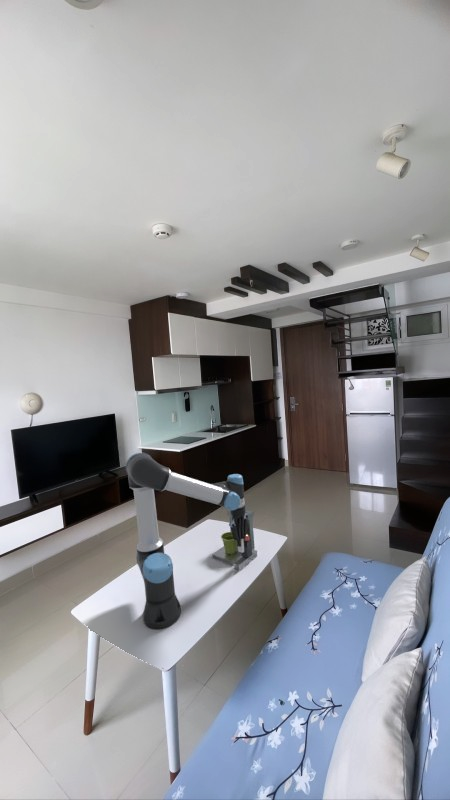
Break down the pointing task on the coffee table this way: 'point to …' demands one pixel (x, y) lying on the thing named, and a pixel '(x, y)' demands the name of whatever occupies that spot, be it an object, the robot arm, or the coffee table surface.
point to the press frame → (236, 558)
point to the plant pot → (229, 543)
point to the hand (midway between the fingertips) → (241, 551)
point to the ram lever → (247, 547)
